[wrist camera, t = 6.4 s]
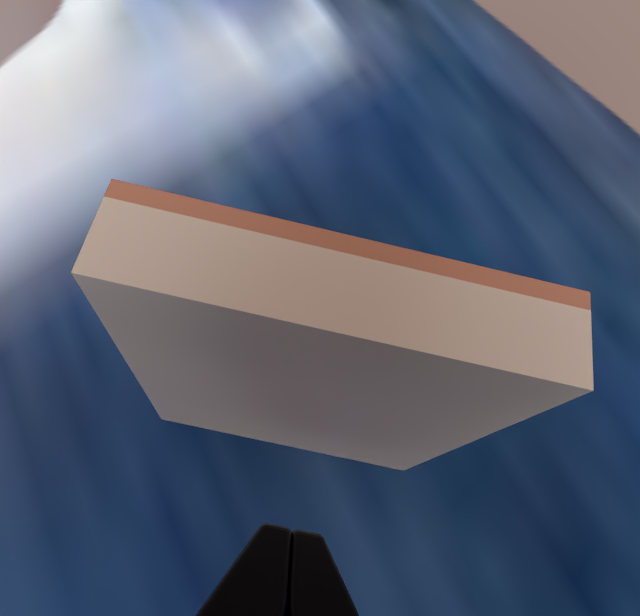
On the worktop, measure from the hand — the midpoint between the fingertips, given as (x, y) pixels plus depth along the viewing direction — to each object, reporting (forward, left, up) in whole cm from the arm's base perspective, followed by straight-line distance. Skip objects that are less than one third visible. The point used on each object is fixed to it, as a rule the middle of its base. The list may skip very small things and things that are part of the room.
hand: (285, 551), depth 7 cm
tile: (+2, -2, -7) cm, 8 cm away
